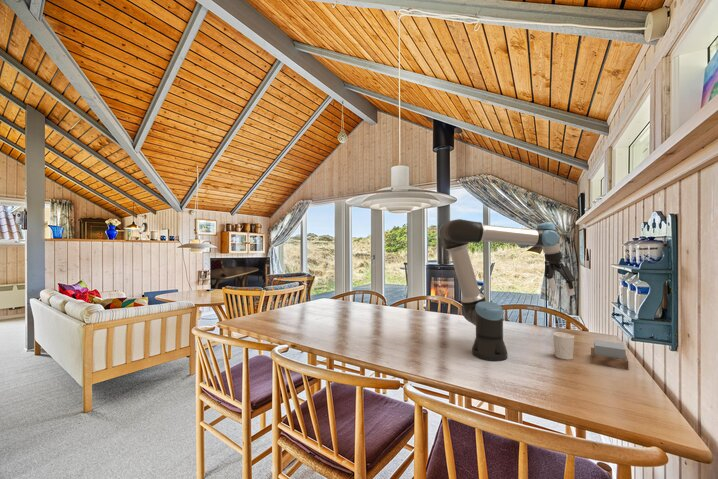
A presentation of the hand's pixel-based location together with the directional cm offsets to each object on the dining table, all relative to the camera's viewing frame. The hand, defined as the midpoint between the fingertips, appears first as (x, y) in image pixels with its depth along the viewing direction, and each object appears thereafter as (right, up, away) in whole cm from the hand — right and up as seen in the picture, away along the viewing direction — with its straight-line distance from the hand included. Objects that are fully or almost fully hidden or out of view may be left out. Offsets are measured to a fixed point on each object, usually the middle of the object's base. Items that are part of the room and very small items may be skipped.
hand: (562, 292), depth 160 cm
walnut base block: (+4, -26, -25) cm, 36 cm away
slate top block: (+4, -22, -25) cm, 33 cm away
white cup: (-12, -26, -19) cm, 34 cm away
